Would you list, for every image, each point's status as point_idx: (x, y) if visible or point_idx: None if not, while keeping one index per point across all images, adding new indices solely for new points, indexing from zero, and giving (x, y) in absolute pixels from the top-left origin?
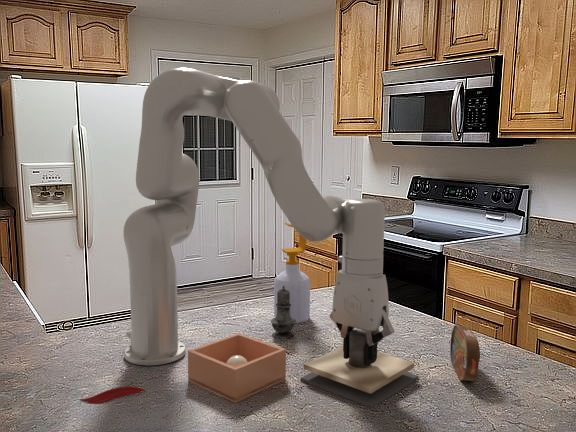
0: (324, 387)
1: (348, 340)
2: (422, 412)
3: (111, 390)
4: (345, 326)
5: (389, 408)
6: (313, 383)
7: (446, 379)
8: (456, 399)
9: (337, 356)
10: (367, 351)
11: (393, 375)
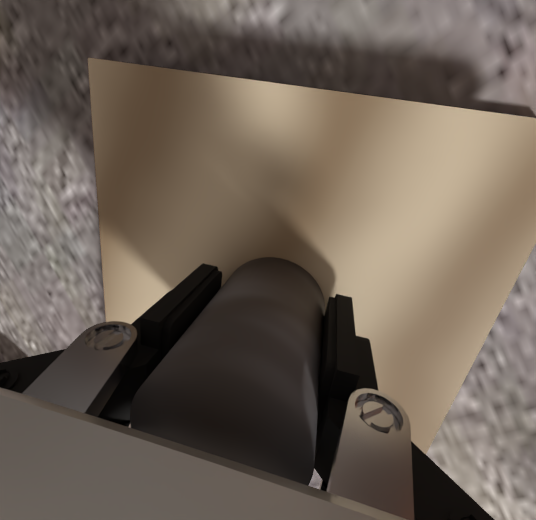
0: (377, 96)
1: (323, 376)
2: (10, 149)
3: None
4: (359, 500)
5: (89, 109)
6: (452, 106)
7: None
8: (5, 284)
9: (409, 336)
10: (166, 302)
11: (103, 261)
